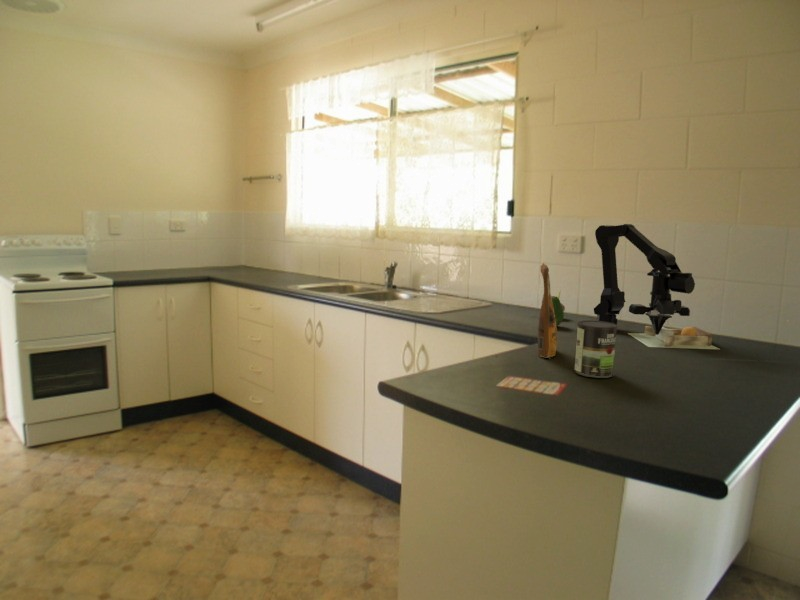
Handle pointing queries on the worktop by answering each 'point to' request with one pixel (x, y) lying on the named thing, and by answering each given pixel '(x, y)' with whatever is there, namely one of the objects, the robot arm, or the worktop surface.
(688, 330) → the ball
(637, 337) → the white flat square board
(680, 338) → the wooden tray
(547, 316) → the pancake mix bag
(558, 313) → the fruit
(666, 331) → the white block
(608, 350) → the coffee can
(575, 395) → the worktop surface
